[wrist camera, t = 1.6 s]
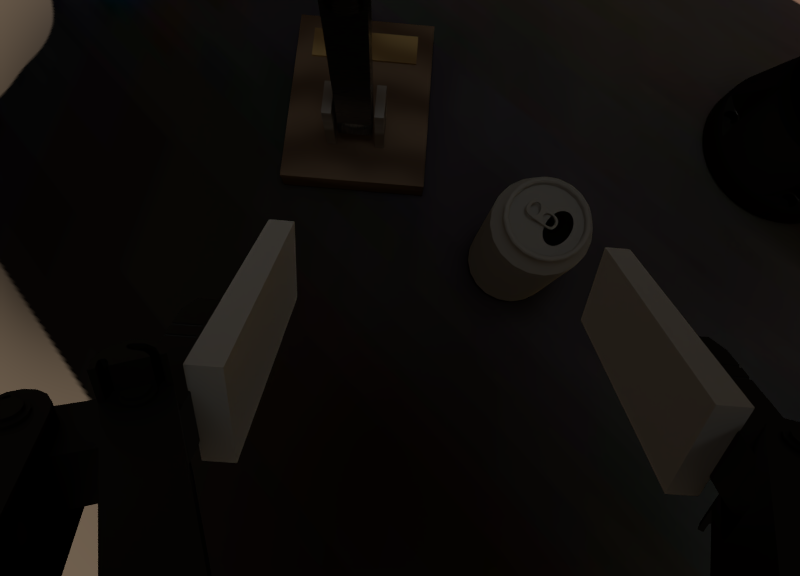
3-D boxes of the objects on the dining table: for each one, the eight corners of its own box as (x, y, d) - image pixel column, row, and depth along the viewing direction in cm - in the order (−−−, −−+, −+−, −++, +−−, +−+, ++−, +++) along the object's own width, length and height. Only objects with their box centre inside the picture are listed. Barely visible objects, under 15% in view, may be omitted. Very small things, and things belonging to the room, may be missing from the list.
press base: (421, 195, 47) (428, 160, 40) (284, 184, 47) (267, 147, 40) (432, 40, 51) (440, -15, 44) (304, 29, 51) (293, -29, 44)
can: (518, 319, 45) (566, 291, 33) (450, 271, 46) (474, 227, 34) (562, 255, 46) (622, 206, 35) (495, 209, 47) (533, 147, 36)
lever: (372, 144, 45) (365, -74, 24) (337, 141, 45) (300, -80, 24) (375, 112, 46) (371, -125, 25) (340, 109, 46) (307, -131, 25)
